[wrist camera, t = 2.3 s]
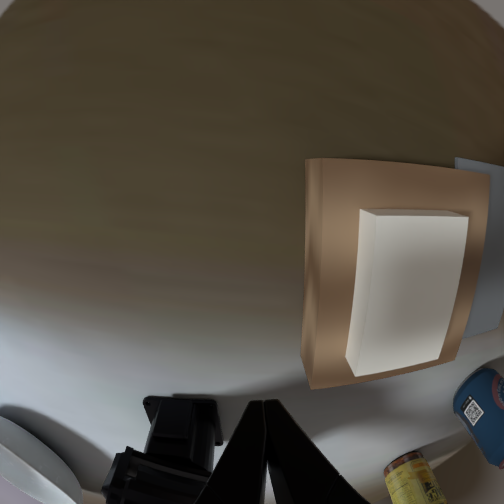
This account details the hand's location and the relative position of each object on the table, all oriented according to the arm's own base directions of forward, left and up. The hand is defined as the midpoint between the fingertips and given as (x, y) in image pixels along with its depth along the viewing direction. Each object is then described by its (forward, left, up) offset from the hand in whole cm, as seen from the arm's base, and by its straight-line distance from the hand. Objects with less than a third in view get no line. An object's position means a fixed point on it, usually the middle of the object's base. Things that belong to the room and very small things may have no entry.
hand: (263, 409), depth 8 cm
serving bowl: (-27, +33, -12) cm, 45 cm away
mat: (0, -21, -12) cm, 24 cm away
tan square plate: (0, -10, -12) cm, 15 cm away
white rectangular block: (0, -9, -8) cm, 12 cm away
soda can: (-16, -26, -12) cm, 33 cm away
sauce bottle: (-29, -20, -12) cm, 37 cm away
